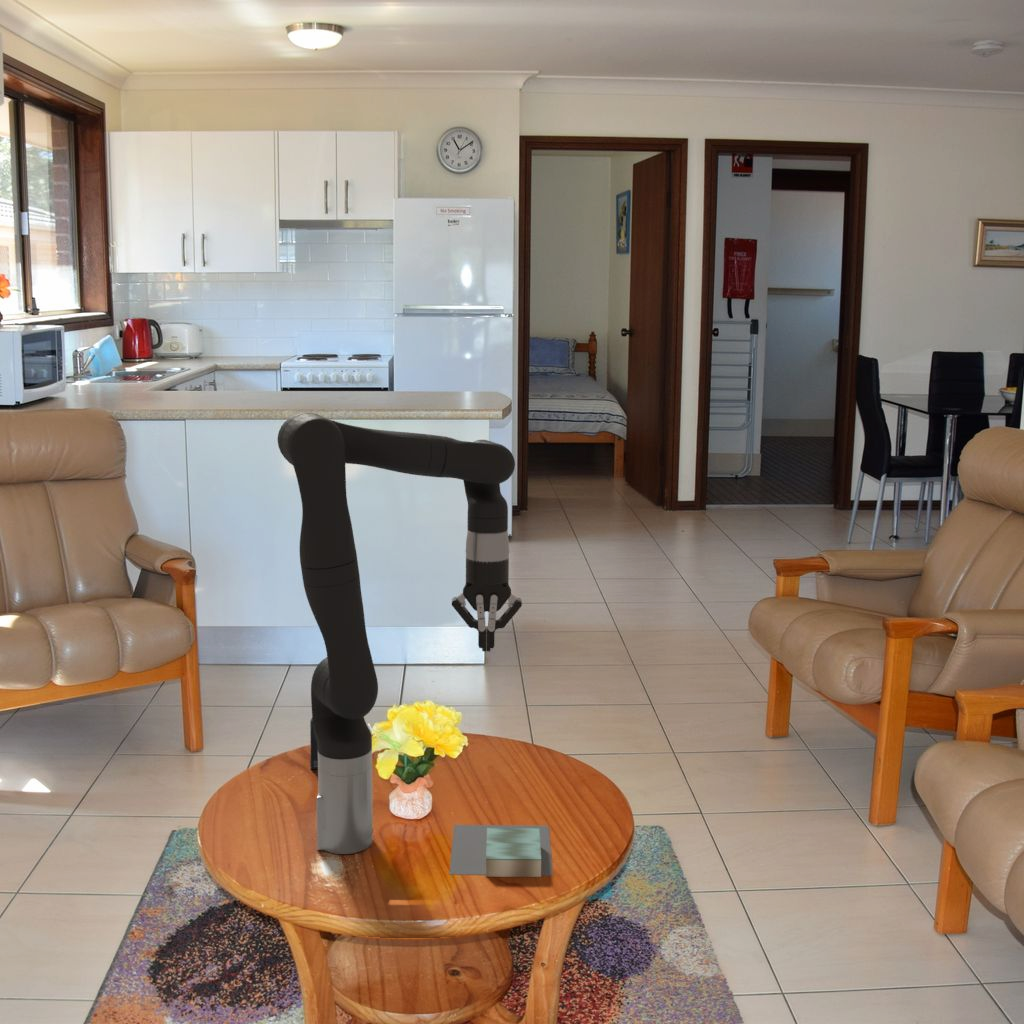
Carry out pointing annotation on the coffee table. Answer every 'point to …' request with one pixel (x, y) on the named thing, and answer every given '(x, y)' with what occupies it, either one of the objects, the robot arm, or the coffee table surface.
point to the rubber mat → (472, 849)
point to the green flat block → (513, 852)
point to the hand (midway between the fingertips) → (486, 650)
